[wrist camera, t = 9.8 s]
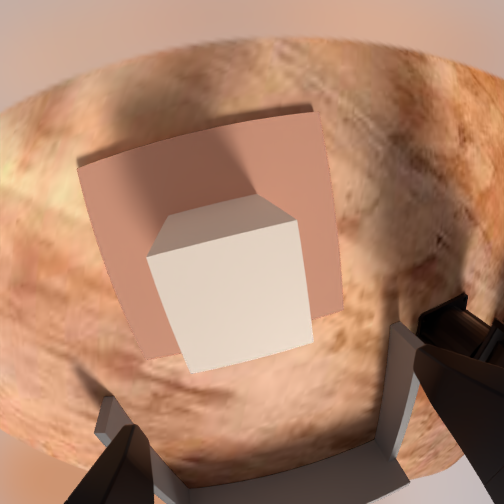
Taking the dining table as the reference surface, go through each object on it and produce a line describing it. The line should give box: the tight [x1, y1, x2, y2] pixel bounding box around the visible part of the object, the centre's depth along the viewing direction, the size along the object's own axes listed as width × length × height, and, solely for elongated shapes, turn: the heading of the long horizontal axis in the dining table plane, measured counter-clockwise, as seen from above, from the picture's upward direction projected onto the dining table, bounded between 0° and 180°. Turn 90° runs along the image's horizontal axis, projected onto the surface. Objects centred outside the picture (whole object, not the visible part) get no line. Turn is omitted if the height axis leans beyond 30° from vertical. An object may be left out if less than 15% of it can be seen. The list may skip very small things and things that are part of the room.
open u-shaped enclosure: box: [94, 321, 425, 504], centre depth 20 cm, size 25×19×8 cm
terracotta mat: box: [77, 111, 344, 360], centre depth 17 cm, size 14×13×1 cm
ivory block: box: [146, 194, 314, 374], centre depth 13 cm, size 5×5×7 cm
